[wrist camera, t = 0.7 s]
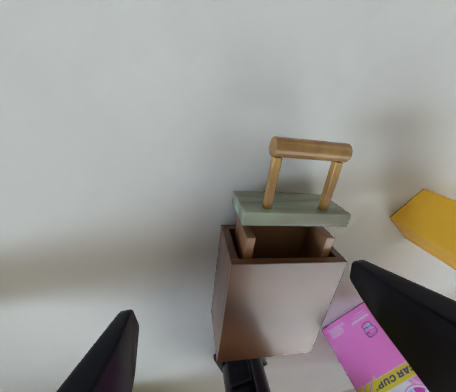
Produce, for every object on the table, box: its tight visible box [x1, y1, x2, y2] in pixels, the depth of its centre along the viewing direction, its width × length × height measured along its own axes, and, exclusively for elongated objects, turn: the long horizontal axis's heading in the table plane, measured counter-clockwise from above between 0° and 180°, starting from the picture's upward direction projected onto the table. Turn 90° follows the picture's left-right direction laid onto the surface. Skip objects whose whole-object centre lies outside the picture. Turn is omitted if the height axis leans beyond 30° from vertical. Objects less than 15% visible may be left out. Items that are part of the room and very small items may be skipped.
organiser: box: [211, 225, 347, 363], centre depth 23 cm, size 12×10×6 cm
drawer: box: [232, 136, 352, 259], centre depth 20 cm, size 17×9×4 cm, turn 173°
